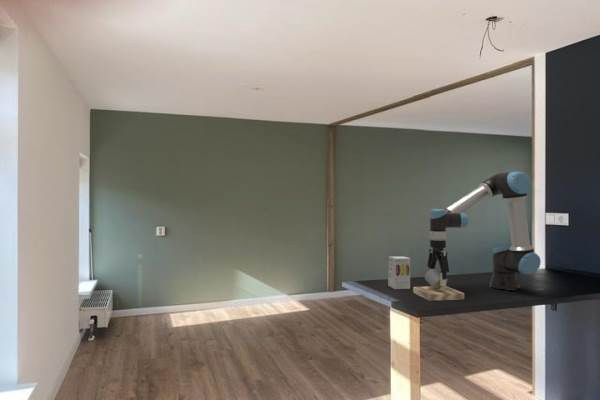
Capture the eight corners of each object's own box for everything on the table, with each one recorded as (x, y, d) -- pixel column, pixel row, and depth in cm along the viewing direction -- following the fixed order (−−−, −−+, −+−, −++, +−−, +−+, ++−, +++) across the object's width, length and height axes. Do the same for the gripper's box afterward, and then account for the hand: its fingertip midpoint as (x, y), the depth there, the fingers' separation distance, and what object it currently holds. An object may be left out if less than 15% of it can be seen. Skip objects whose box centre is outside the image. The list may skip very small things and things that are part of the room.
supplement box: (394, 289, 224) (394, 258, 224) (387, 286, 233) (387, 256, 233) (410, 288, 226) (410, 257, 226) (403, 285, 235) (403, 255, 235)
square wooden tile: (445, 291, 219) (445, 285, 219) (464, 299, 201) (464, 293, 201) (413, 292, 216) (413, 286, 216) (429, 300, 198) (429, 294, 198)
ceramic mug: (434, 292, 206) (435, 282, 201) (423, 281, 212) (424, 271, 207) (451, 284, 209) (452, 273, 204) (440, 273, 215) (441, 263, 210)
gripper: (420, 237, 219) (420, 279, 219) (442, 241, 197) (442, 288, 196) (434, 237, 220) (433, 279, 220) (456, 241, 198) (456, 288, 198)
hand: (437, 283), depth 208 cm, fingers closed on ceramic mug, 10 cm apart
